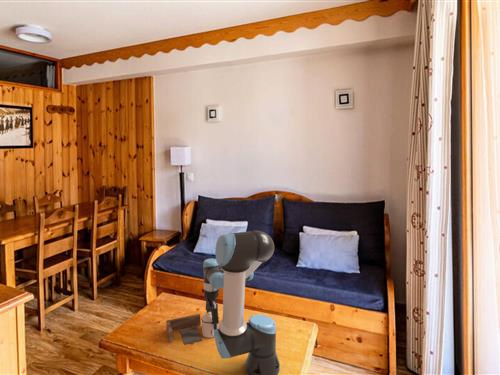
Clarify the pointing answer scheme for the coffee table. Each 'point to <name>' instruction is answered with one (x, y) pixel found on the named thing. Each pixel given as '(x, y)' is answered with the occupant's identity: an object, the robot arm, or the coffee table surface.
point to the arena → (183, 323)
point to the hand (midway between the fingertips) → (212, 329)
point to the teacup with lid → (207, 325)
